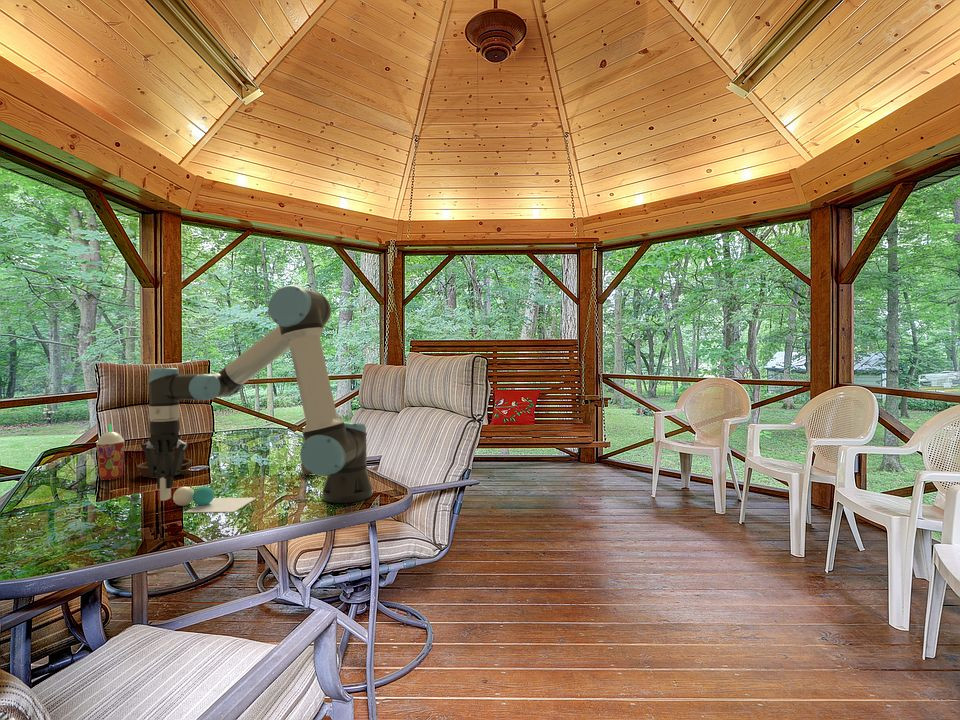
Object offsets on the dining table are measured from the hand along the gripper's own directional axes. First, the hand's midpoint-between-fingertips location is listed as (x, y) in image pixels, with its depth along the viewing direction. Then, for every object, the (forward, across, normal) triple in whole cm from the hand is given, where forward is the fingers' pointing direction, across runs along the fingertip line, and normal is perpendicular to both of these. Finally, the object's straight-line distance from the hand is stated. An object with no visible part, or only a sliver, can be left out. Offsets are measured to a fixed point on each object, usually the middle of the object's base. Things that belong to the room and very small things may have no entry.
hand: (165, 499), depth 146 cm
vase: (+2, +30, +38) cm, 48 cm away
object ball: (-1, +11, 0) cm, 11 cm away
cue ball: (-1, +6, 0) cm, 6 cm away
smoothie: (+2, -42, +34) cm, 54 cm away
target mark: (+2, +17, 0) cm, 17 cm away
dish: (+2, -26, +40) cm, 48 cm away
